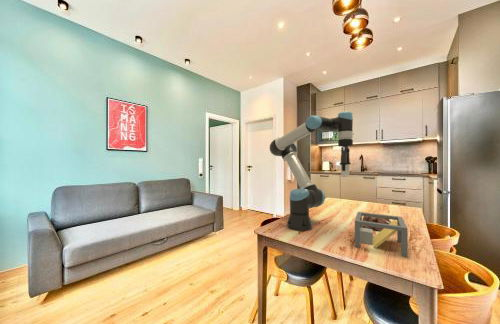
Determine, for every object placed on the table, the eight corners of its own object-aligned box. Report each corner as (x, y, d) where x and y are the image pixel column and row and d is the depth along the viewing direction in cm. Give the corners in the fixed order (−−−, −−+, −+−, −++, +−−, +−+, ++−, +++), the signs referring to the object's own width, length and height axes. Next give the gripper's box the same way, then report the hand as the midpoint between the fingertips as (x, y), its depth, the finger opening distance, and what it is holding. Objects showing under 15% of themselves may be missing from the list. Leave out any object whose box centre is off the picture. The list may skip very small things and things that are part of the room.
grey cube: (372, 244, 97) (358, 242, 100) (372, 240, 102) (359, 238, 105) (372, 232, 97) (358, 230, 100) (372, 229, 102) (359, 227, 105)
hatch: (375, 248, 93) (373, 246, 93) (375, 238, 104) (373, 237, 105) (399, 229, 88) (396, 227, 88) (396, 221, 100) (394, 219, 100)
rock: (355, 210, 126) (378, 206, 126) (357, 226, 127) (381, 223, 127) (369, 219, 111) (396, 215, 110) (371, 237, 112) (398, 233, 111)
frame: (354, 246, 95) (354, 220, 95) (357, 233, 111) (357, 211, 111) (407, 257, 84) (407, 228, 84) (402, 241, 101) (402, 216, 101)
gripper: (350, 136, 100) (350, 177, 100) (354, 140, 121) (354, 174, 121) (334, 137, 104) (334, 177, 104) (341, 141, 125) (341, 174, 125)
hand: (345, 176), depth 113 cm, fingers open, 13 cm apart
